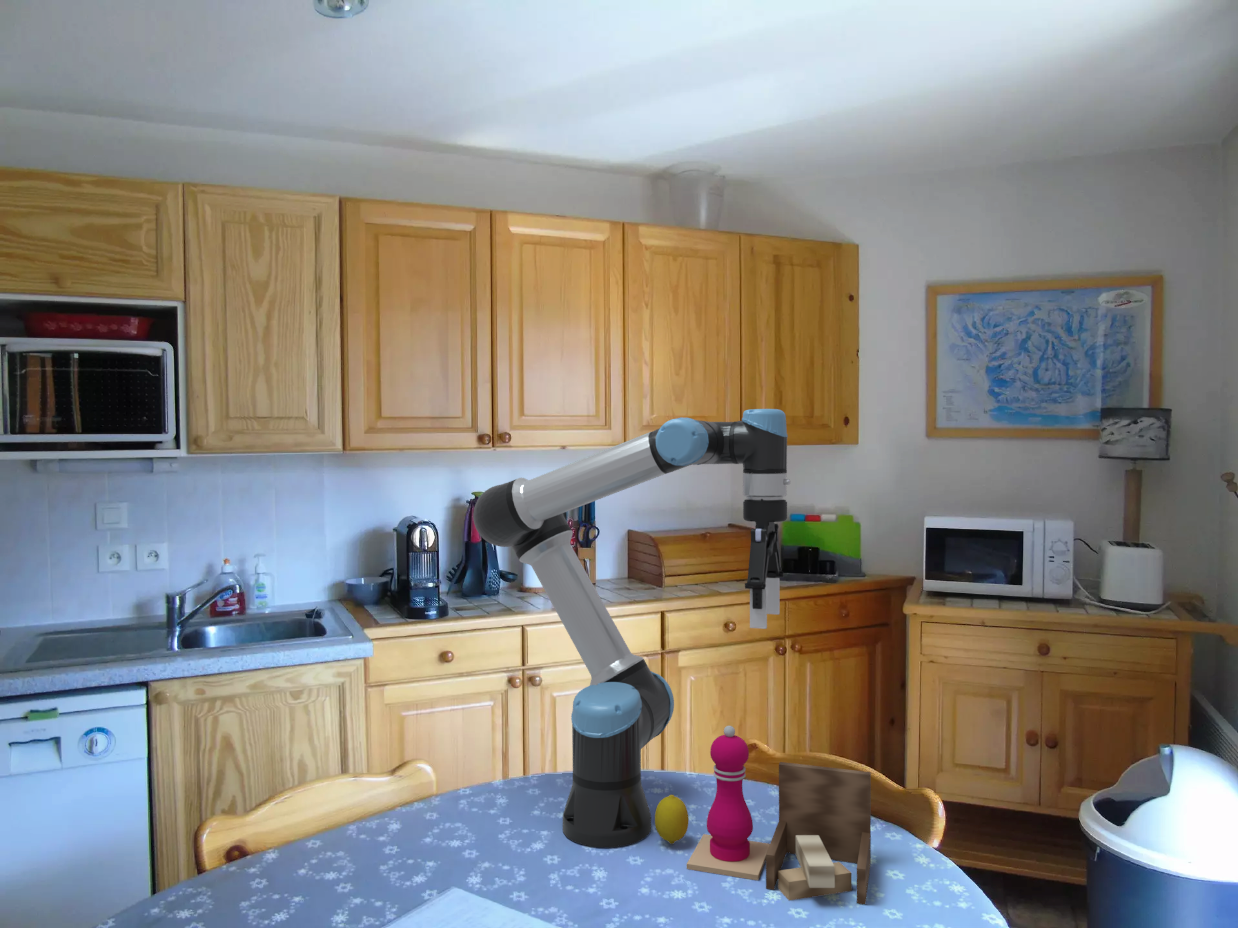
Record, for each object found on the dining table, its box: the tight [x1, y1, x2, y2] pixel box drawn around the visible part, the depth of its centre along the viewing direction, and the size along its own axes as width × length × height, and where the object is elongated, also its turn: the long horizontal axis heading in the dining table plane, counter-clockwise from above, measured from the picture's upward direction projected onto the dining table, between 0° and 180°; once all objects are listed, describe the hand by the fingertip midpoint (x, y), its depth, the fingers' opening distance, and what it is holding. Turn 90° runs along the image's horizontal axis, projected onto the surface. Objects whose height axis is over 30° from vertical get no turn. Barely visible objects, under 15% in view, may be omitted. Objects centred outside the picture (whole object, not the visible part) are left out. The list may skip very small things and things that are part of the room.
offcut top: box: [795, 835, 835, 888], centre depth 124 cm, size 10×4×3 cm, turn 179°
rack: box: [765, 761, 872, 905], centre depth 128 cm, size 14×14×14 cm
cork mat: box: [686, 833, 770, 881], centre depth 134 cm, size 11×11×1 cm
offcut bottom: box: [777, 861, 853, 902], centre depth 124 cm, size 10×4×3 cm, turn 105°
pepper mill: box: [706, 725, 754, 862], centre depth 134 cm, size 7×7×20 cm
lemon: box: [654, 794, 690, 845], centre depth 139 cm, size 6×6×8 cm
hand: (765, 620), depth 147 cm, fingers open, 13 cm apart
